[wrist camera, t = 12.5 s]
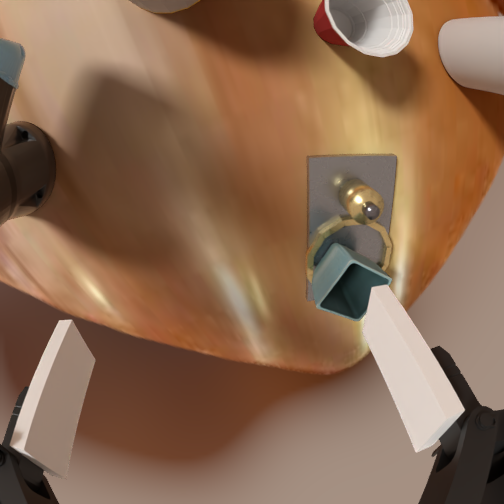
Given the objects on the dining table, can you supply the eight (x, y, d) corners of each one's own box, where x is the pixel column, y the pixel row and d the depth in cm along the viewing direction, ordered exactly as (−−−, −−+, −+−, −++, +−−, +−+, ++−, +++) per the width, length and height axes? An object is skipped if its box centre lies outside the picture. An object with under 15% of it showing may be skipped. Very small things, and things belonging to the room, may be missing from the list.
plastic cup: (345, 77, 35) (388, 77, 25) (280, 31, 31) (303, 11, 21) (382, 26, 31) (431, 15, 20) (321, -20, 27) (356, -49, 17)
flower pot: (370, 248, 48) (394, 280, 40) (340, 288, 52) (358, 323, 44) (330, 227, 45) (352, 258, 38) (300, 271, 49) (314, 307, 41)
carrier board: (303, 297, 53) (313, 327, 47) (303, 156, 40) (320, 171, 34) (378, 285, 54) (395, 311, 47) (395, 153, 41) (423, 168, 34)
